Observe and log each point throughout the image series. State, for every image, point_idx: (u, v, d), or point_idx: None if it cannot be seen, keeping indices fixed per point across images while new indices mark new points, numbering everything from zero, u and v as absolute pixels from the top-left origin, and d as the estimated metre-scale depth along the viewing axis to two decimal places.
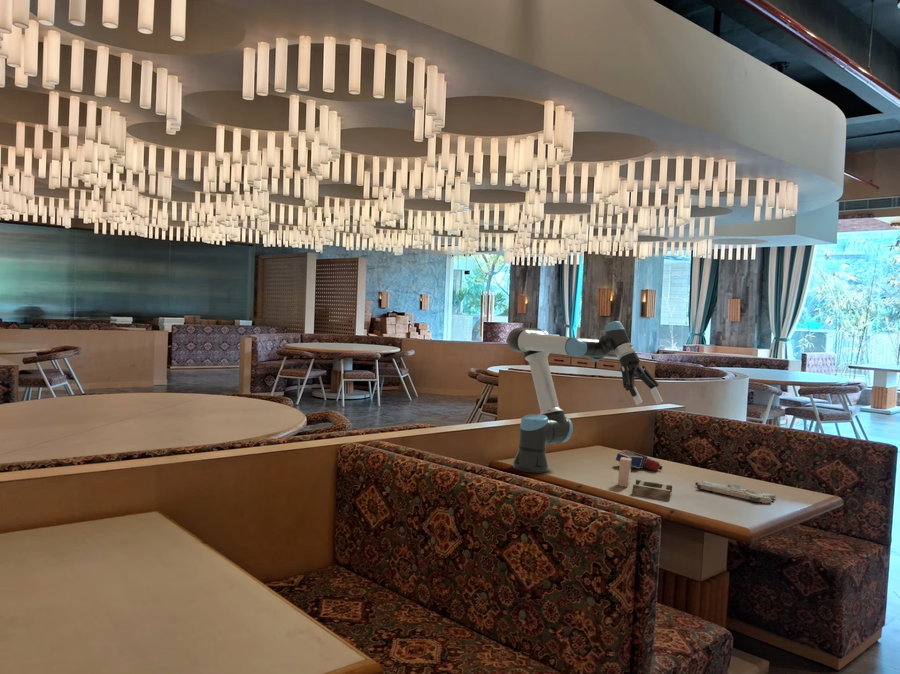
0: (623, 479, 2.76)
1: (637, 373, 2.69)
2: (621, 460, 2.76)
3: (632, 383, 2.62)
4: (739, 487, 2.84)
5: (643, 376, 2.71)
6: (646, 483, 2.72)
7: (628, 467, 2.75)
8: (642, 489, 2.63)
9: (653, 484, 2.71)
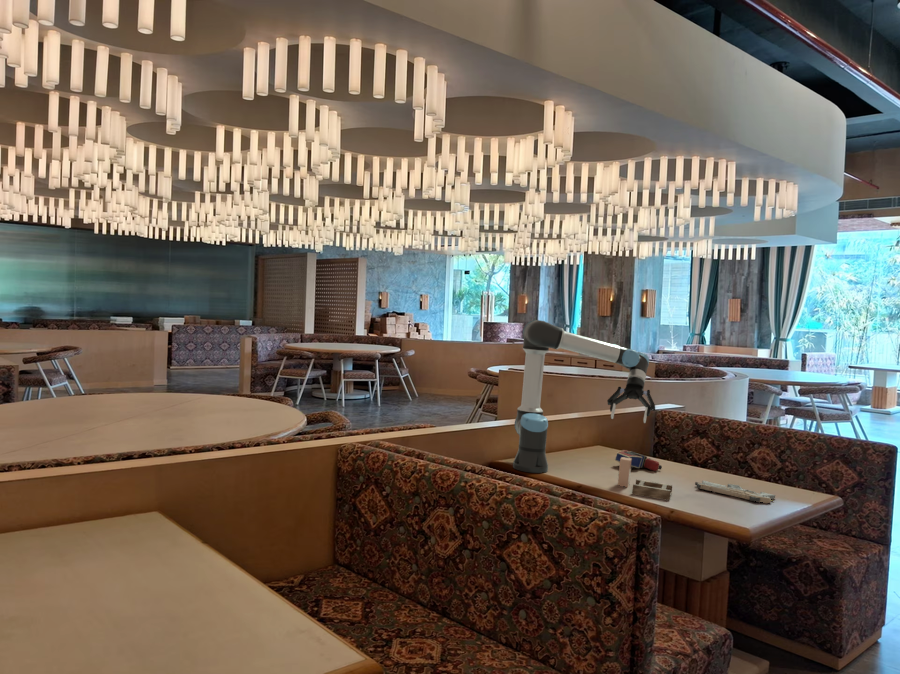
0: (623, 479, 2.76)
1: None
2: (621, 460, 2.76)
3: None
4: (739, 487, 2.84)
5: (625, 398, 2.97)
6: (646, 483, 2.72)
7: (628, 467, 2.75)
8: (642, 489, 2.63)
9: (653, 484, 2.71)
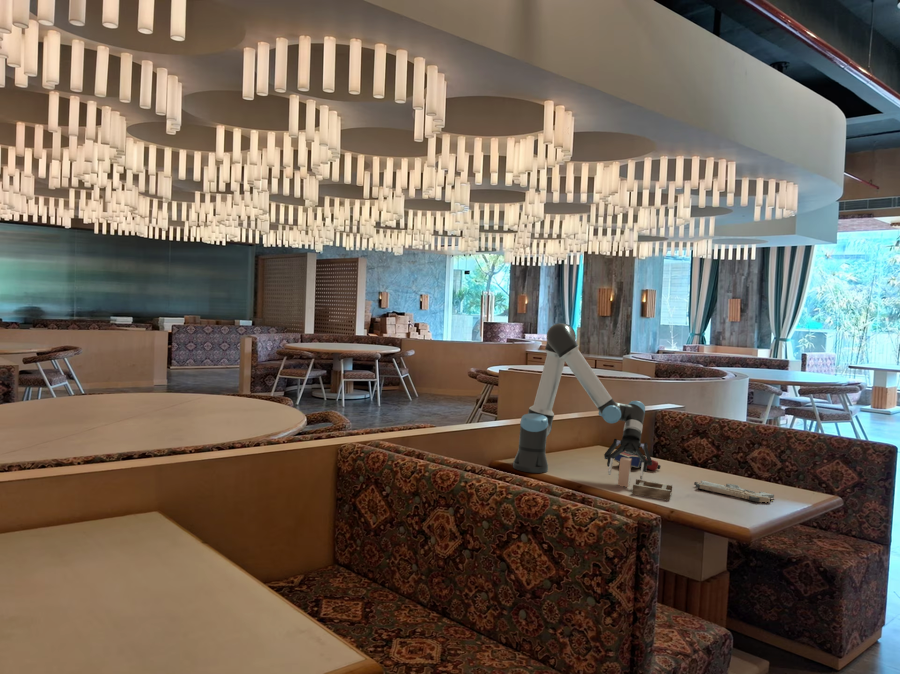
0: (623, 479, 2.76)
1: None
2: (621, 460, 2.76)
3: None
4: (737, 487, 2.85)
5: (621, 451, 2.85)
6: (646, 483, 2.72)
7: (628, 467, 2.75)
8: (642, 489, 2.63)
9: (653, 484, 2.71)
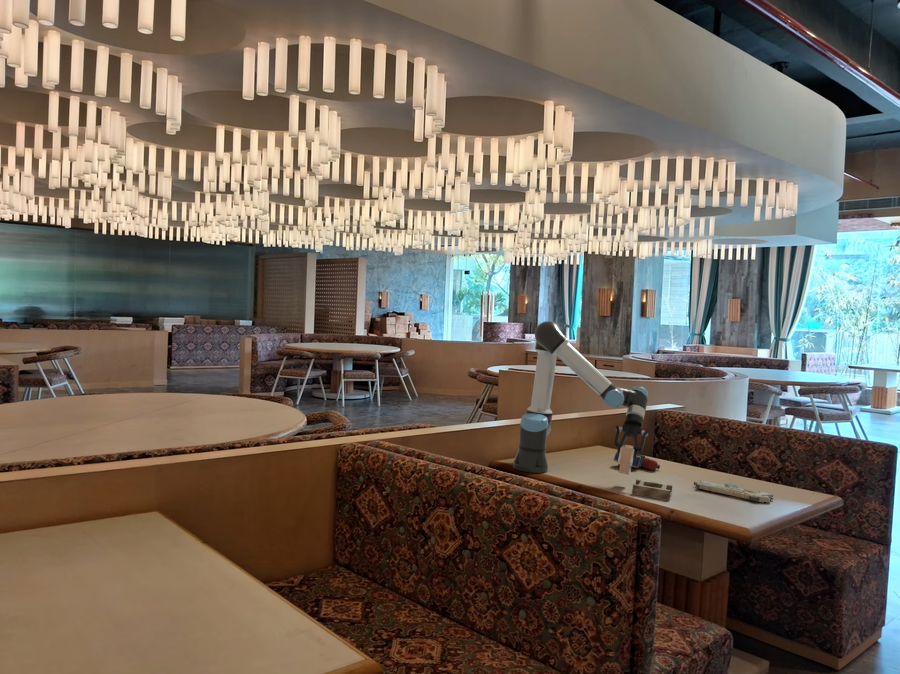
0: (624, 466, 2.75)
1: None
2: (623, 447, 2.75)
3: None
4: (737, 486, 2.85)
5: (627, 437, 2.83)
6: (646, 483, 2.72)
7: (630, 454, 2.74)
8: (642, 489, 2.63)
9: (653, 484, 2.71)
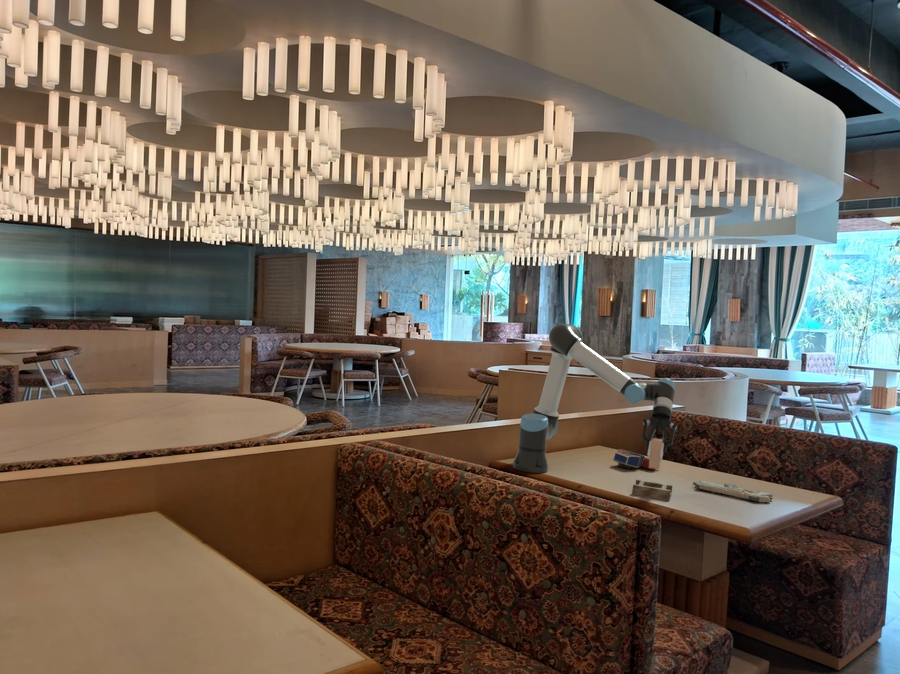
0: (654, 460, 2.64)
1: None
2: (652, 441, 2.64)
3: None
4: (736, 486, 2.85)
5: (655, 431, 2.72)
6: (646, 483, 2.72)
7: (660, 448, 2.63)
8: (642, 489, 2.63)
9: (653, 484, 2.71)
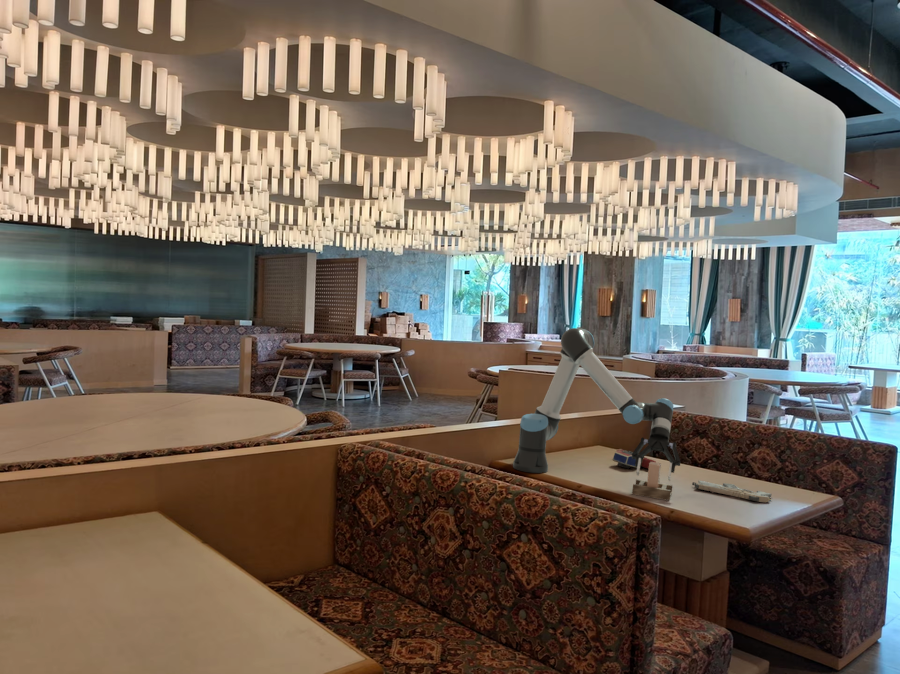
0: (652, 484, 2.64)
1: None
2: (650, 465, 2.65)
3: None
4: (734, 486, 2.85)
5: (649, 450, 2.73)
6: (646, 483, 2.72)
7: (657, 472, 2.64)
8: (642, 489, 2.63)
9: None
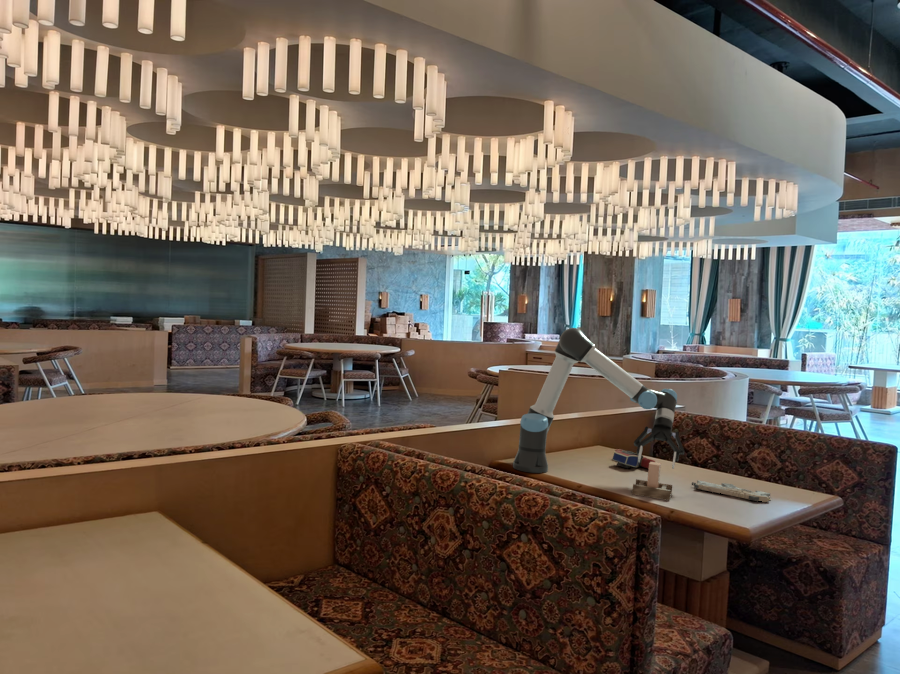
0: (652, 484, 2.64)
1: None
2: (650, 465, 2.65)
3: None
4: (733, 486, 2.85)
5: (652, 439, 2.86)
6: (646, 483, 2.72)
7: (657, 472, 2.64)
8: (642, 489, 2.63)
9: None
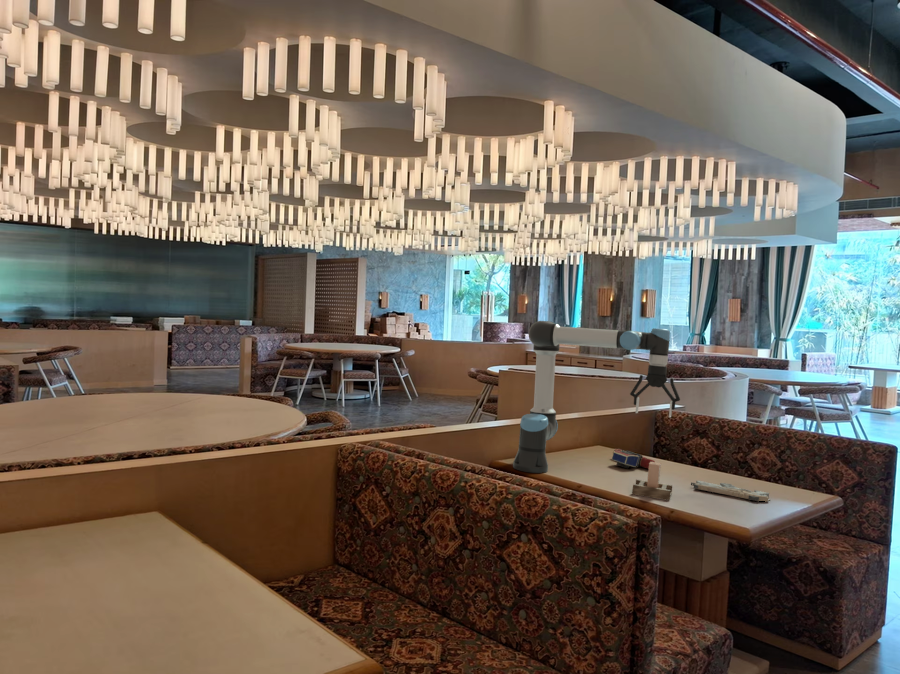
0: (652, 484, 2.64)
1: None
2: (650, 465, 2.65)
3: None
4: (732, 486, 2.86)
5: None
6: (646, 483, 2.72)
7: (657, 472, 2.64)
8: (642, 489, 2.63)
9: None
